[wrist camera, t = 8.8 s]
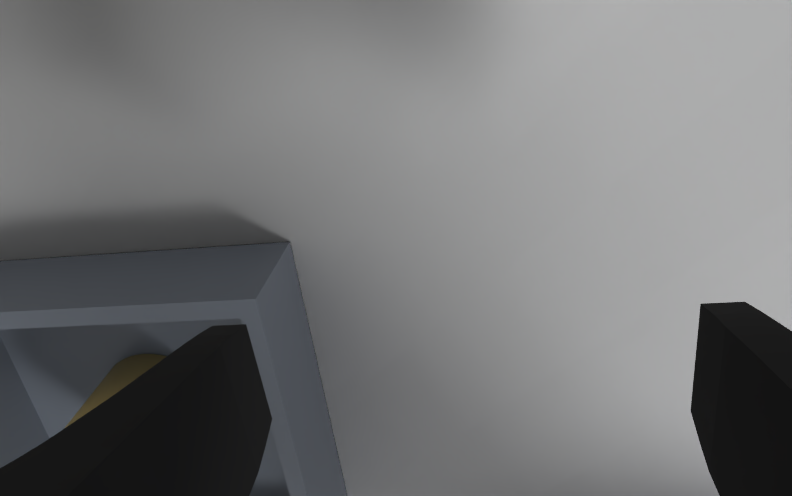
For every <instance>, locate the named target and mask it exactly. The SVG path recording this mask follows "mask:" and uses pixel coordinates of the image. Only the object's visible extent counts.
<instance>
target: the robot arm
mask: <svg viewBox="0 0 792 496" xmlns="http://www.w3.org/2000/svg"><path fill="white" fill-rule="evenodd" d="M691 413H692V417H693V420H694V423H695V427H696V430H697V434H698V437H699V441H700V444H701V447H702V450H703V454H704V457H705V460H706V463H707V466H708V469H709V472H710V474H711V477H712V479H713V481H714V484H715V486H716V488H717V490H718V493H719V495H720V496H792V331H790V330H789V329H787V328H786V327H784V326H783V325H781V324H780V323H778V322H777V321H775V320H774V319H772V318H770V317H769V316H767V315H766V314H764V313H763V312H761V311H759V310H758V309H756V308H754V307H753V306H751V305H749V304H748V303H746V302H731V303H709V304H701V307H700V318H699V328H698V339H697V350H696V360H695V371H694V382H693V392H692V403H691ZM271 422H272V416H271V412H270V409H269V405H268V401H267V398H266V394H265V391H264V387H263V383H262V380H261V376H260V373H259V369H258V365H257V362H256V358H255V355H254V351H253V347H252V344H251V340H250V336H249V333H248V329H247V326H246V324H240V325H218V326H211V327H209V328H208V329H206V330H204V331H203V332H201V333H200V334H198V335H197V336H195V337H194V338H192V339H191V340H189V341H188V342H186V343H185V344H183V345H182V346H181V347H179V348H178V349H176V350H175V351H174V352H172V353H171V354H170V355H168V356H167V357H165V358H164V359H163V360H161V361H160V362H159V363H157V364H156V365H154V366H153V367H152V368H150V369H149V370H148V371H146V372H145V373H143V374H142V375H141V376H139V377H138V378H137V379H135V380H134V381H132V382H131V383H130V384H128V385H127V386H126V387H124V388H123V389H121V390H120V391H119V392H117V393H116V394H114V395H113V396H112V397H110V398H109V399H107V400H106V401H104V402H103V403H101V404H100V405H98V406H97V407H96V408H94V409H93V410H91V411H90V412H88V413H87V414H85V415H84V416H82V417H81V418H79V419H78V420H76V421H75V422H73V423H72V424H70V425H69V426H67V427H66V428H64V429H63V430H61V431H60V432H59V433H57V434H56V435H54V436H53V437H51V438H49V439H48V440H46V441H45V442H43V443H42V444H40V445H38V446H37V447H35V448H33V449H32V450H30V451H29V452H27V453H25V454H24V455H22V456H20V457H19V458H17V459H15V460H14V461H12V462H10V463H8V464H7V465H5V466H3V467H1V468H0V496H249V495H250V493H251V490H252V488H253V485H254V483H255V480H256V477H257V475H258V472H259V468H260V465H261V461H262V458H263V454H264V450H265V447H266V442H267V438H268V434H269V430H270V426H271Z"/></svg>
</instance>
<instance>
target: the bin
mask: <svg viewBox="0 0 792 496" xmlns="http://www.w3.org/2000/svg"><path fill="white" fill-rule="evenodd" d="M240 324H246V326H247V329H248V333H249V336H250V340H251V344H252V347H253V351H254V355H255V358H256V362H257V365H258V369H259V373H260V376H261V380H262V383H263V387H264V391H265V394H266V398H267V401H268V405H269V409H270V412H271V416H272V422H271V426H270V430H269V434H268V438H267V442H266V447H265V450H264V454H263V458H262V461H261V465H260V468H259V472H258V475H257V477H256V480H255V483H254V485H253V488H252V490H251V493H250V495H249V496H347V493H346V488H345V484H344V479H343V475H342V470H341V466H340V462H339V457H338V453H337V448H336V444H335V439H334V435H333V431H332V426H331V422H330V417H329V413H328V408H327V404H326V400H325V395H324V391H323V386H322V382H321V377H320V373H319V369H318V364H317V360H316V355H315V351H314V347H313V342H312V338H311V333H310V329H309V324H308V320H307V316H306V311H305V307H304V302H303V298H302V293H301V289H300V285H299V280H298V276H297V271H296V267H295V262H294V258H293V254H292V249H291V245H290V242H281V243H266V244H251V245H236V246H220V247H205V248H190V249H175V250H160V251H145V252H130V253H115V254H100V255H85V256H70V257H55V258H40V259H25V260H10V261H0V468H1V467H3V466H5V465H7V464H8V463H10V462H12V461H14V460H15V459H17V458H19V457H20V456H22V455H24V454H25V453H27V452H29V451H30V450H32V449H33V448H35V447H37V446H38V445H40V444H42V443H43V442H45V441H46V440H48V439H49V438H51V437H53V436H54V435H56V434H57V433H59V432H60V431H61V430H63V429H64V428H65V427H66V426H67V424H68V423H69V422H70V421H71V419H72V418H73V417H74V416H75V414H76V413H77V412H78V411H79V409H80V408H81V407H82V405H83V404H84V403H85V402H86V400H87V399H88V398H89V397H90V395H91V394H92V393H93V392H94V390H95V389H96V388H97V387H98V385H99V384H100V383H101V382H102V380H103V379H104V378H105V377H106V375H107V374H108V373H109V372H110V370H111V369H112V368H113V367H114V366H115V365H116V364H117V363H118V362H120V361H121V360H123V359H125V358H127V357H130V356H134V355H139V354H156V355H163V356H168V355H170V354H171V353H172V352H174V351H175V350H176V349H178V348H179V347H181V346H182V345H183V344H185V343H186V342H188V341H189V340H191V339H192V338H194V337H195V336H197V335H198V334H200V333H201V332H203V331H204V330H206V329H208V328H209V327H211V326H218V325H240Z"/></svg>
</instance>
